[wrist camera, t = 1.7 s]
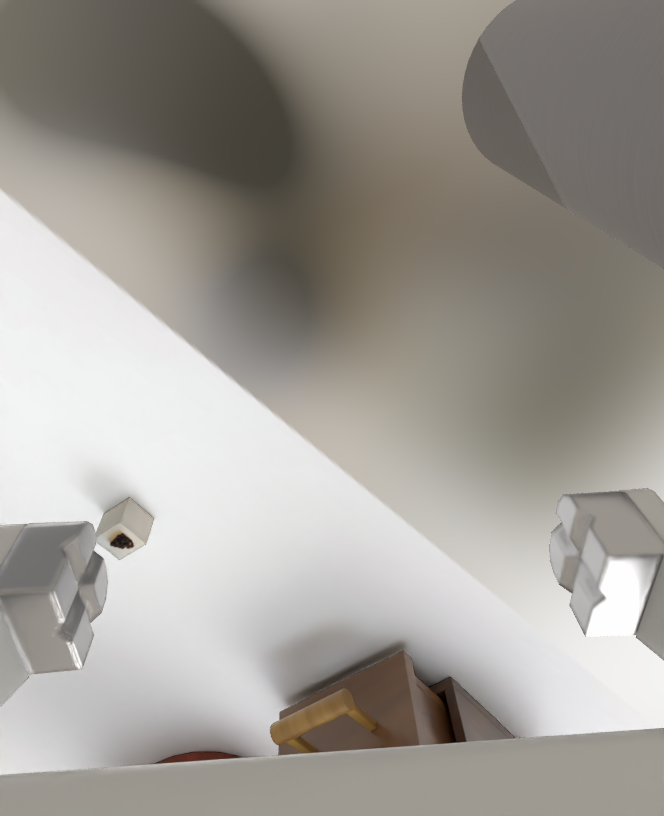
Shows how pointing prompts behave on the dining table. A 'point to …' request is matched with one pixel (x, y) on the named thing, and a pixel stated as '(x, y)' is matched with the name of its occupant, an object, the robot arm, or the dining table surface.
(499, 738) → the dresser
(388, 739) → the drawer
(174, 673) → the dining table surface
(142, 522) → the cube with dark pebbles
